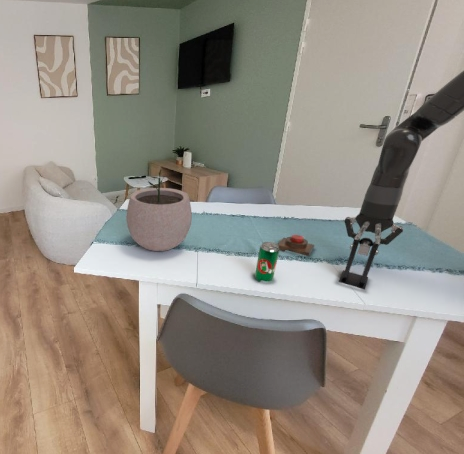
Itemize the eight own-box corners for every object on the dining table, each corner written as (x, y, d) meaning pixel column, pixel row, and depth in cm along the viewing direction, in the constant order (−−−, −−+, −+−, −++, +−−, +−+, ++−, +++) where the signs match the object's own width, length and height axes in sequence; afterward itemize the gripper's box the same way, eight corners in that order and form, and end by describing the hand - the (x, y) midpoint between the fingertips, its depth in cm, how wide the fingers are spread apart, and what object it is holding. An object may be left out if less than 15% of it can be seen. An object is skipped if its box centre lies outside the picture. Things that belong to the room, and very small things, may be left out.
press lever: (358, 245, 92) (361, 235, 92) (371, 248, 90) (374, 238, 90) (354, 254, 83) (357, 243, 82) (369, 257, 81) (372, 247, 80)
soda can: (265, 274, 93) (272, 240, 88) (276, 282, 88) (284, 247, 83) (250, 276, 92) (256, 242, 87) (261, 285, 87) (268, 249, 83)
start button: (303, 240, 105) (304, 236, 104) (301, 244, 102) (302, 239, 102) (292, 238, 107) (293, 233, 106) (289, 241, 105) (290, 237, 104)
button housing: (313, 250, 105) (315, 240, 104) (307, 258, 100) (310, 248, 99) (282, 242, 112) (284, 233, 110) (275, 249, 107) (278, 240, 105)
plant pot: (125, 234, 125) (124, 164, 113) (182, 233, 124) (186, 162, 112) (127, 262, 103) (126, 179, 91) (196, 261, 102) (204, 177, 90)
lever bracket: (342, 273, 91) (354, 236, 86) (367, 280, 87) (381, 242, 82) (337, 284, 86) (350, 246, 81) (363, 292, 82) (378, 252, 77)
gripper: (348, 198, 86) (333, 249, 93) (415, 208, 77) (392, 264, 84) (352, 192, 91) (337, 241, 98) (415, 201, 82) (394, 254, 89)
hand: (363, 251), depth 91 cm, fingers closed on press lever, 3 cm apart
